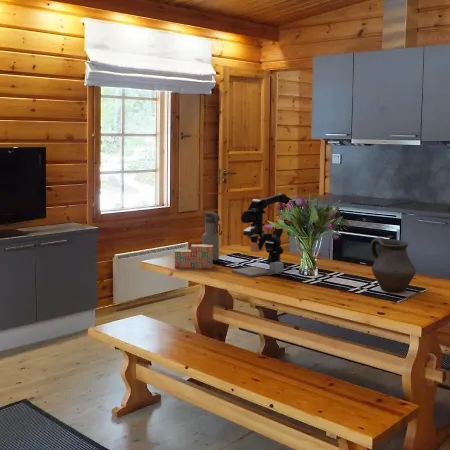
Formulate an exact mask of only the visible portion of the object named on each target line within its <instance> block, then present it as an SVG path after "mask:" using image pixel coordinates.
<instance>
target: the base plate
mask: <svg viewBox="0 0 450 450" xmlns="http://www.w3.org/2000/svg"><path fill="white" fill-rule="evenodd" d="M231 273H232V274H237V275H241V276H244V277H248V278H254V277H259V276H260V277H261V276H266V275H272V273H273V271H271V270H270V269H266V268H263V267H258V266H255V265H254V266H253V265H252V266H248V267H247V266H246V267H241V268H233V269H231ZM273 274H274V273H273Z"/></svg>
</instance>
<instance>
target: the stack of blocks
mask: <svg viewBox="0 0 450 450" xmlns="http://www.w3.org/2000/svg"><path fill="white" fill-rule="evenodd" d="M174 268H179V269H180V268H185V269H186V268H188V269H190V268H191V269H192V268H193V269H195V268H196V269H213V268H214V261H213V245H202V244H191V246H190V249H175V250H174Z"/></svg>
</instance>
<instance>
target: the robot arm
mask: <svg viewBox="0 0 450 450" xmlns="http://www.w3.org/2000/svg"><path fill="white" fill-rule="evenodd" d="M289 200H293V199H292V198H290V197H289V196H287V195H286V194H284V193H280V192H278V193H276V194H274V195H270V196H267V197H264V198H253V199H252V200H251V203H250V204H249V205H248V208H247V210H243V213H242V214H241V217H240V221H241V222H242V223H243V224H249V223H250V226H249V227H246V228H245V229H243V232H242V234H243V235H242V236H247V238H248V239H250V243H251V242H258V241H259V250H261V249H262V247H263V245H264V249H265V251H266V253H267V254H268V257H267V258H268V259H267V260H268V261H267V262H266V264H269V265H270V263H273V262H281V255H282V254H284V249H283V247H282V246H281V244H282V241H281V237H282V234H283V231H284V229H283V230H282V229H276V228H275V227H274V229H273V232H272V233H271V232H265V231H264V230H263V229H264V227H263V226H265V223H264V214H267V212H266V211H265V209H266V208H267V207H268V206H270V205H272V204H275V203H276V204H277V203H278V204H279V202H282V203H285V204H287V203H288V202H289ZM279 217H280V215H279ZM279 217H278V218H279Z"/></svg>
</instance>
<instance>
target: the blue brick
mask: <svg viewBox="0 0 450 450" xmlns="http://www.w3.org/2000/svg"><path fill="white" fill-rule="evenodd" d="M284 264H285V263H284V262H281V261H280V262H273V263H270V264H269V270H271V271H273V274H279V272H280V273H284Z"/></svg>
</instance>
